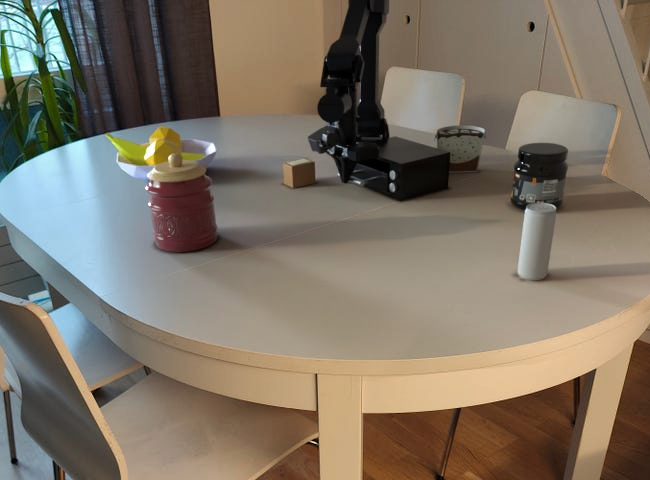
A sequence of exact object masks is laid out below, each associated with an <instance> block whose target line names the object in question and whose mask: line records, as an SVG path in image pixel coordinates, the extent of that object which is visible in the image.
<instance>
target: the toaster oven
mask: <svg viewBox="0 0 650 480" xmlns="http://www.w3.org/2000/svg"><path fill="white" fill-rule="evenodd" d="M372 143H375V144H377V145H378V146H379V147H380V150H379V157H377V158H372V159H368V160H363V161H358V163H360V164H362V165H365V166H368V167H373V166H378V165H382V164H386V163H390V185H389V191H388V192H387V191H384V190H382V189H379V188H377V187H374V186H371V185H369V184H366V183H365V185H364V186H363V188H366V189H368V190H370V191H373V192H376V193H377V194H381V195H383V196H385V197H388V198H390V199H393V200H395V201H398V202H403V201H407V200H410V199H414V198H418V197H422V196H425V195H429V194H433V193H438V192H441V191H445V190H448V189H449V182H450V173H449V168H450V152H448V151H445V150H441V149H438V148H437V147H434V146H430V145H427V144H423V143H420V142H416V141H413V140H409V139H406V138H403V137H400V136H390V138H385V139H381V140H376V141H372Z"/></svg>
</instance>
